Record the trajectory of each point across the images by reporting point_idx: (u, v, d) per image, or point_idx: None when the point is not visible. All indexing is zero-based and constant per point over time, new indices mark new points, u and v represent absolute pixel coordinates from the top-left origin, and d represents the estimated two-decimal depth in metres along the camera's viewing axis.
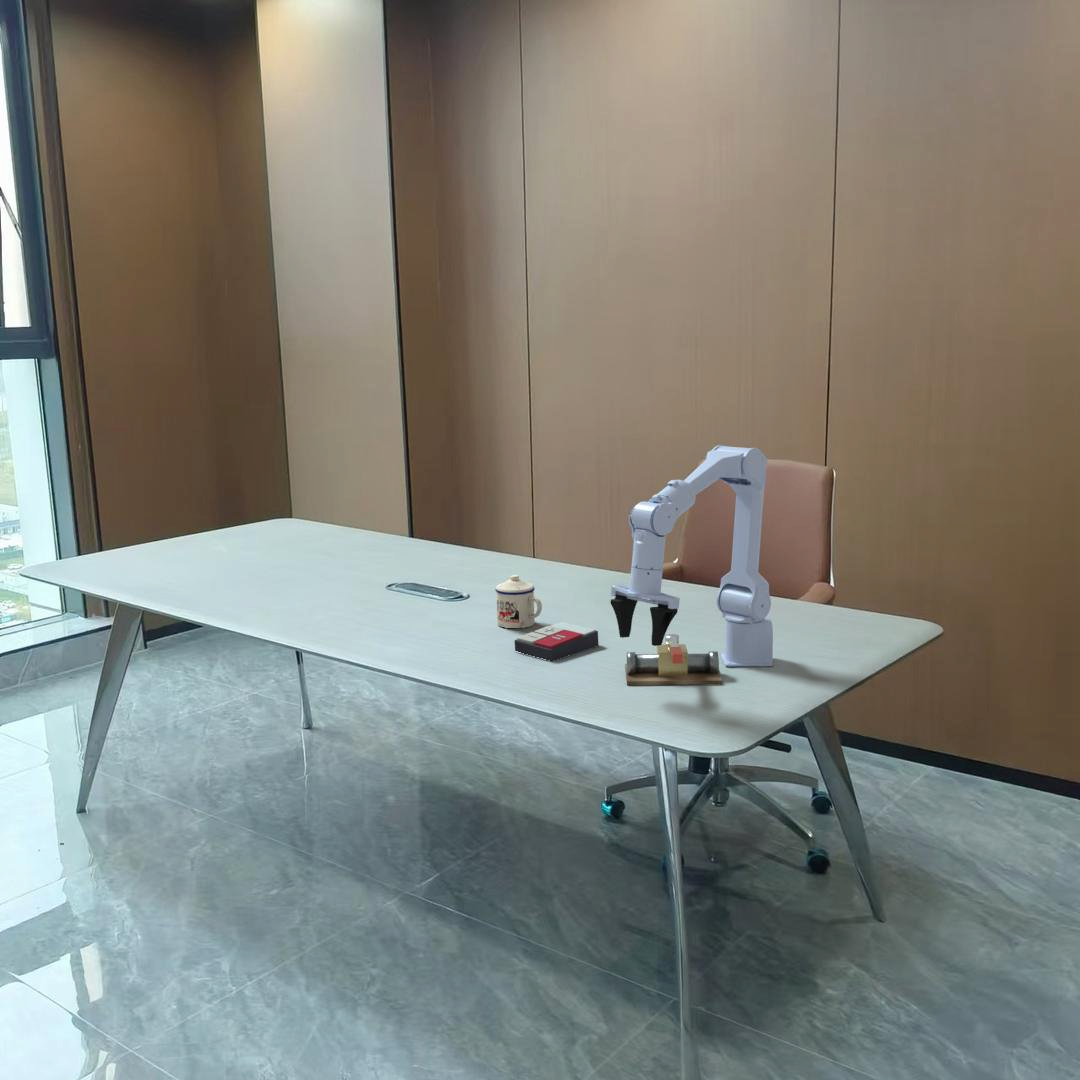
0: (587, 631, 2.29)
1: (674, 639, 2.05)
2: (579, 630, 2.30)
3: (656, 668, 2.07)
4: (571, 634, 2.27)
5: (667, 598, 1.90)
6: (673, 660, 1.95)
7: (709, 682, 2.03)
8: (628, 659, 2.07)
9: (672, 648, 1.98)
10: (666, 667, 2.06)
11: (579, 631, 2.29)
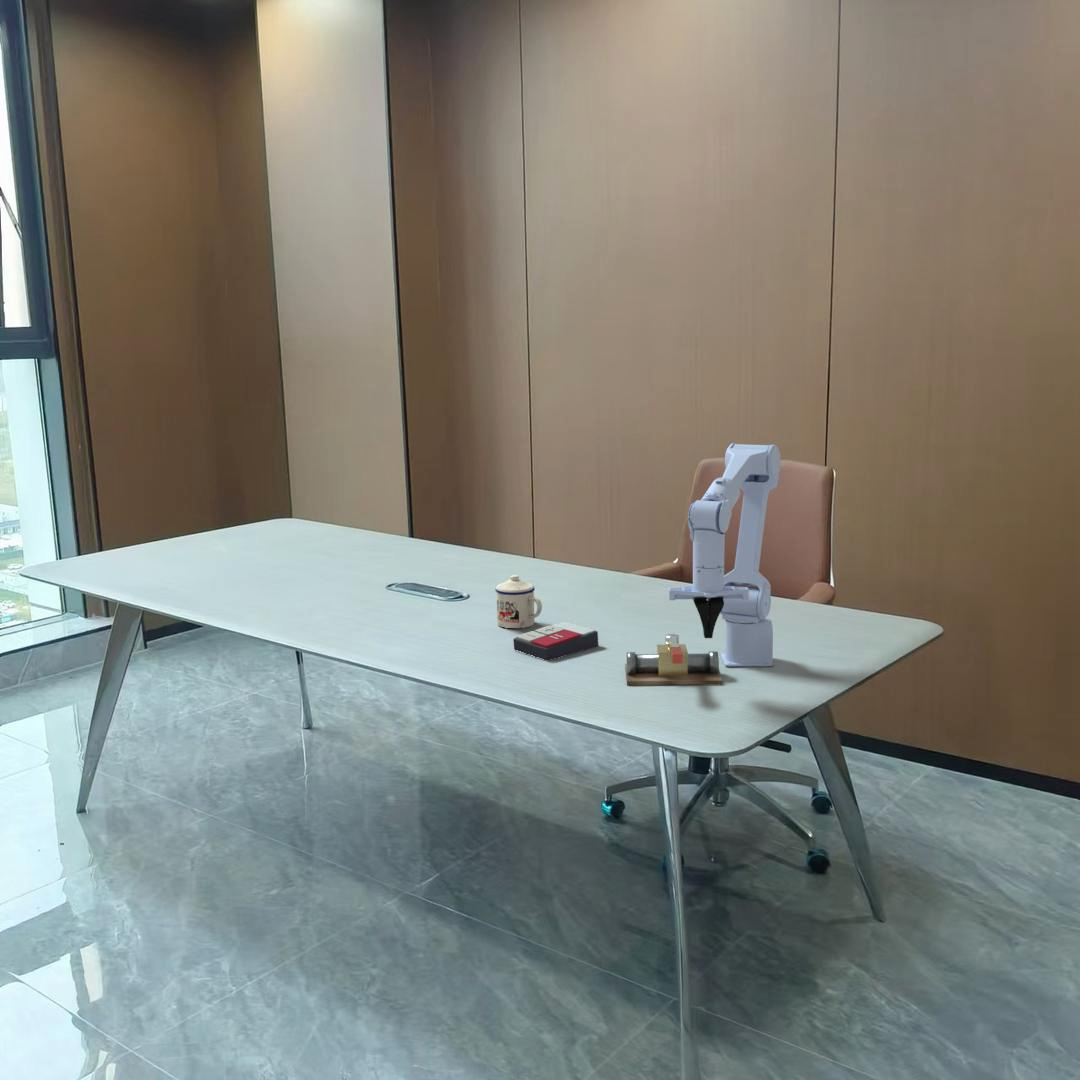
0: (586, 631, 2.29)
1: (674, 639, 2.05)
2: (579, 630, 2.30)
3: (656, 668, 2.07)
4: (570, 634, 2.27)
5: (742, 590, 1.96)
6: (673, 660, 1.95)
7: (709, 682, 2.03)
8: (628, 659, 2.07)
9: (672, 648, 1.98)
10: (666, 667, 2.06)
11: (578, 631, 2.29)
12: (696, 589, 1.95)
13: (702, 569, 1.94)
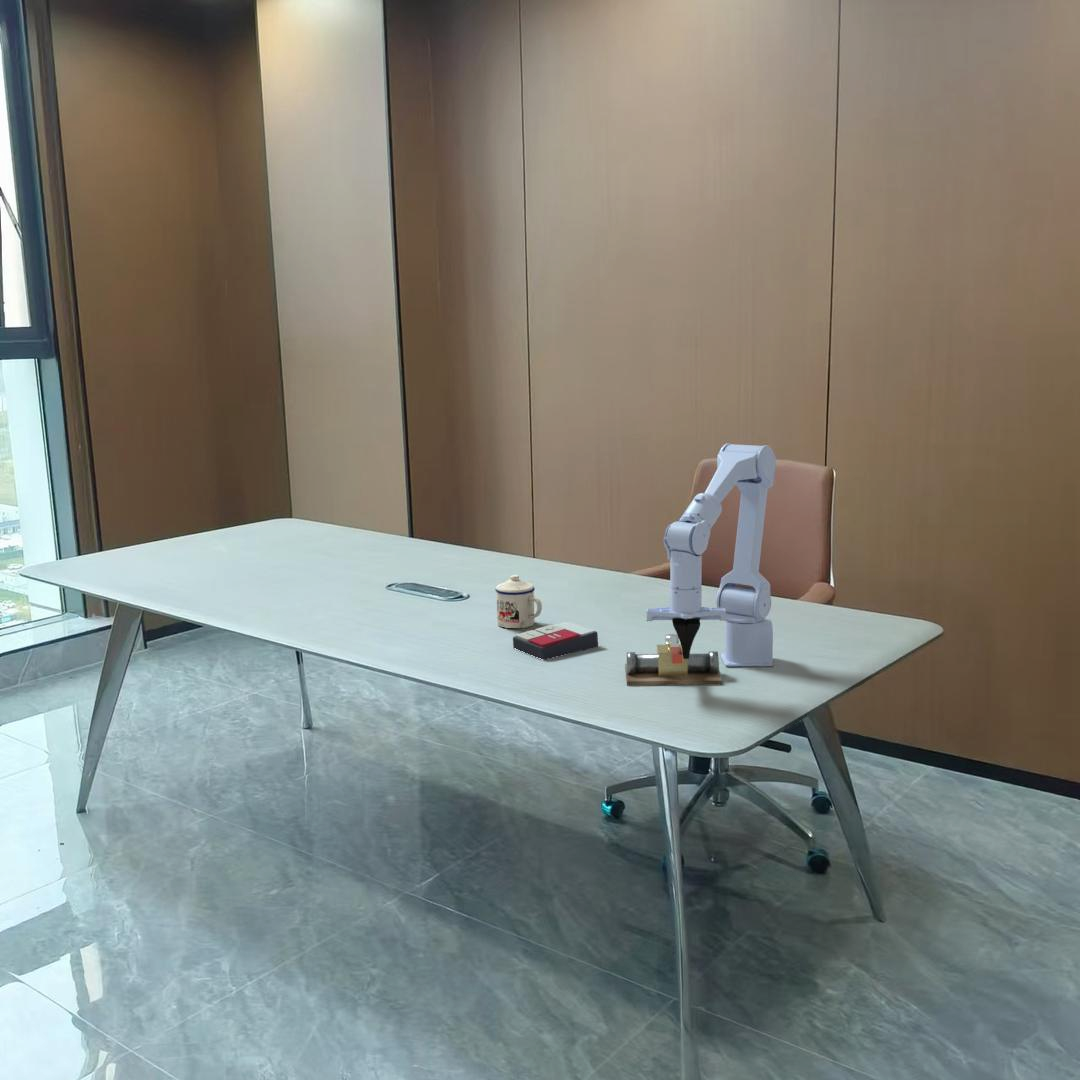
0: (586, 631, 2.29)
1: (674, 639, 2.05)
2: (579, 630, 2.30)
3: (656, 668, 2.07)
4: (568, 634, 2.27)
5: (719, 611, 1.96)
6: (673, 660, 1.95)
7: (709, 682, 2.03)
8: (628, 659, 2.07)
9: (672, 648, 1.98)
10: (666, 667, 2.06)
11: (578, 631, 2.29)
12: (673, 610, 1.96)
13: (679, 590, 1.95)
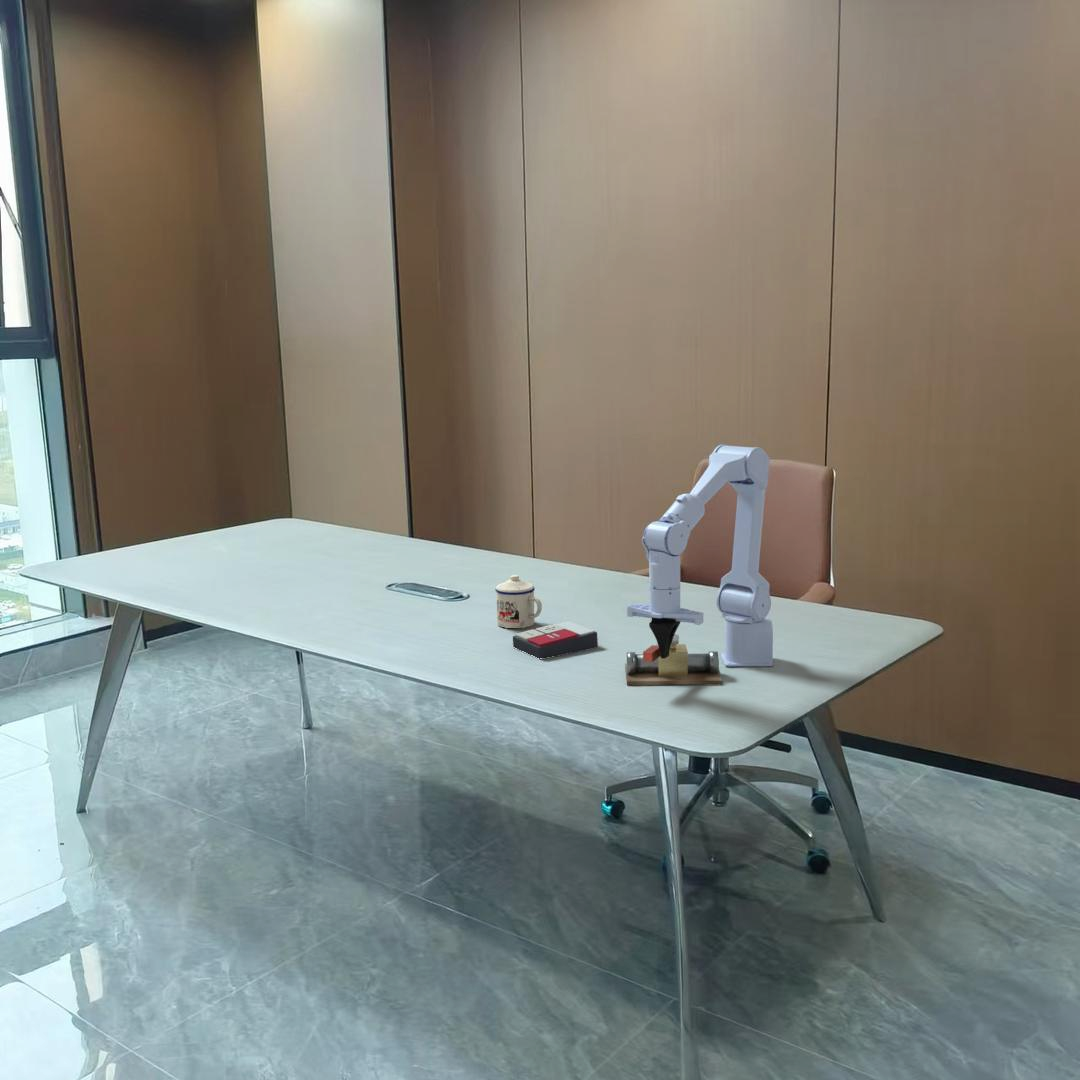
0: (585, 632, 2.28)
1: None
2: (578, 630, 2.30)
3: (656, 668, 2.07)
4: (567, 634, 2.27)
5: (693, 615, 1.94)
6: (643, 657, 1.97)
7: (709, 682, 2.03)
8: (628, 659, 2.07)
9: (651, 646, 2.00)
10: (666, 667, 2.06)
11: (578, 631, 2.29)
12: (649, 608, 1.98)
13: (652, 589, 1.96)
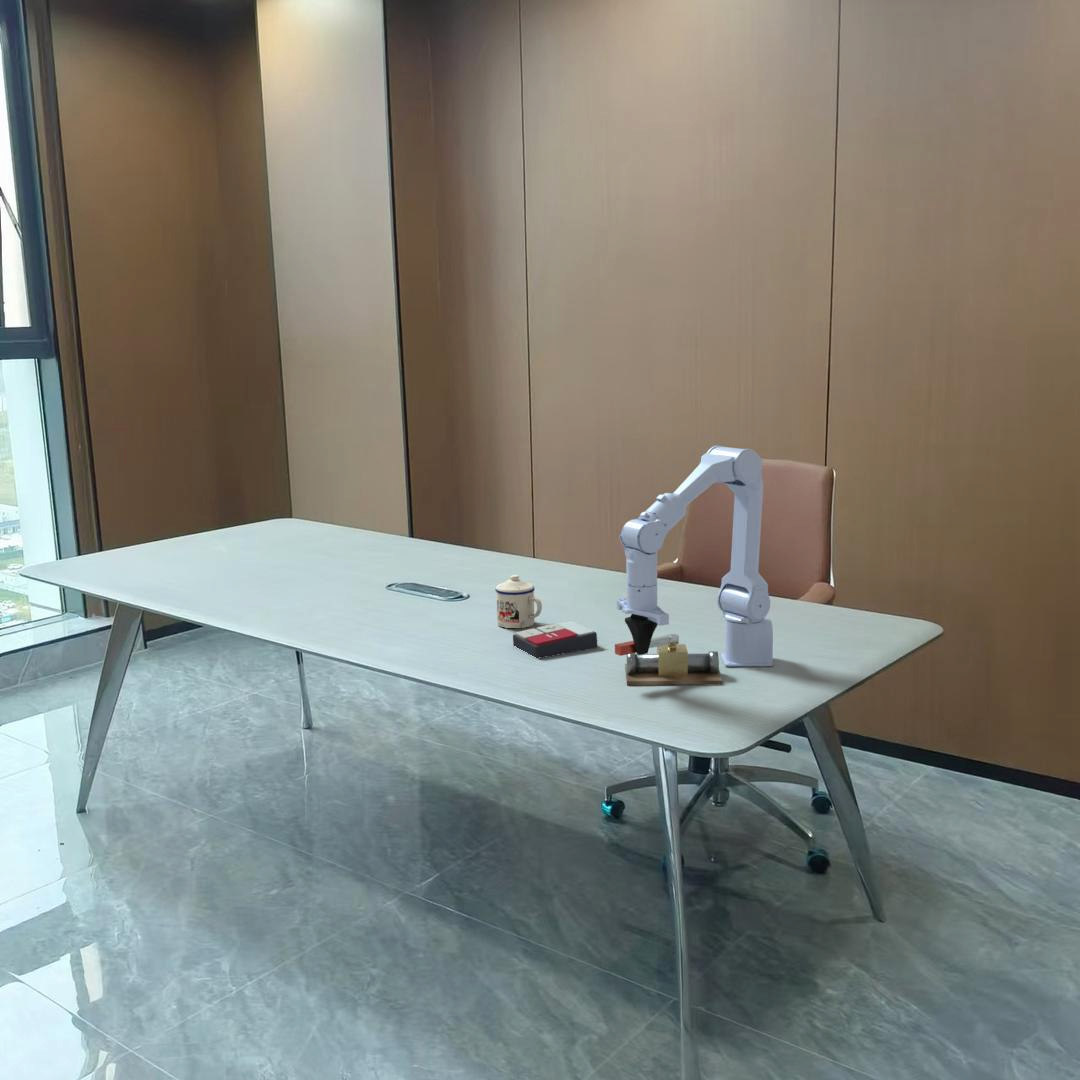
0: (584, 632, 2.28)
1: (661, 638, 2.06)
2: (578, 630, 2.30)
3: (656, 668, 2.07)
4: (566, 633, 2.27)
5: (655, 615, 1.95)
6: (615, 650, 2.02)
7: (709, 682, 2.03)
8: (628, 659, 2.07)
9: (630, 641, 2.04)
10: (666, 667, 2.06)
11: (577, 631, 2.29)
12: None
13: None
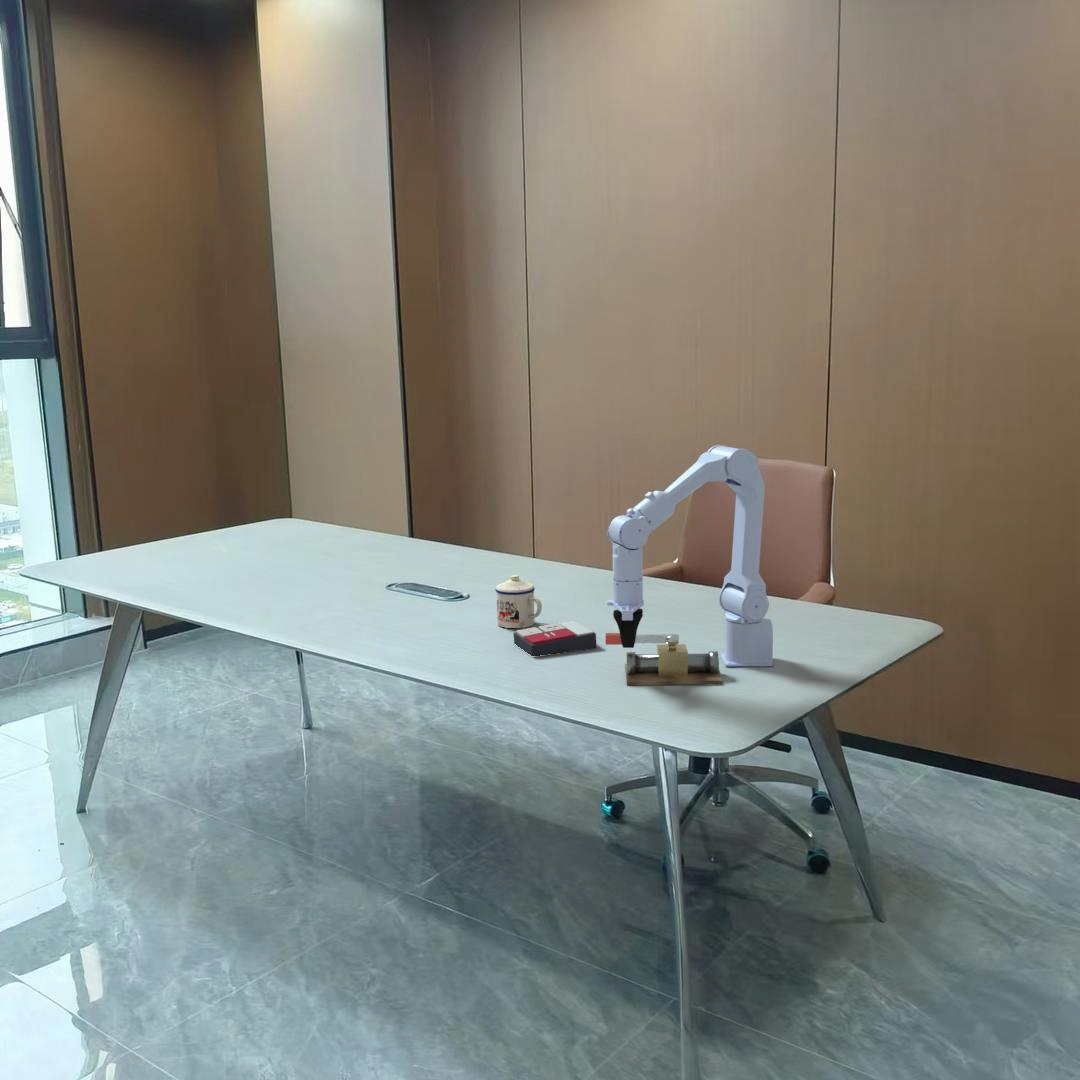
0: (583, 632, 2.28)
1: (657, 635, 2.08)
2: (578, 630, 2.30)
3: (656, 668, 2.07)
4: (565, 633, 2.28)
5: (621, 609, 1.99)
6: None
7: (709, 682, 2.03)
8: (628, 659, 2.07)
9: None
10: (666, 667, 2.06)
11: (577, 631, 2.29)
12: None
13: None
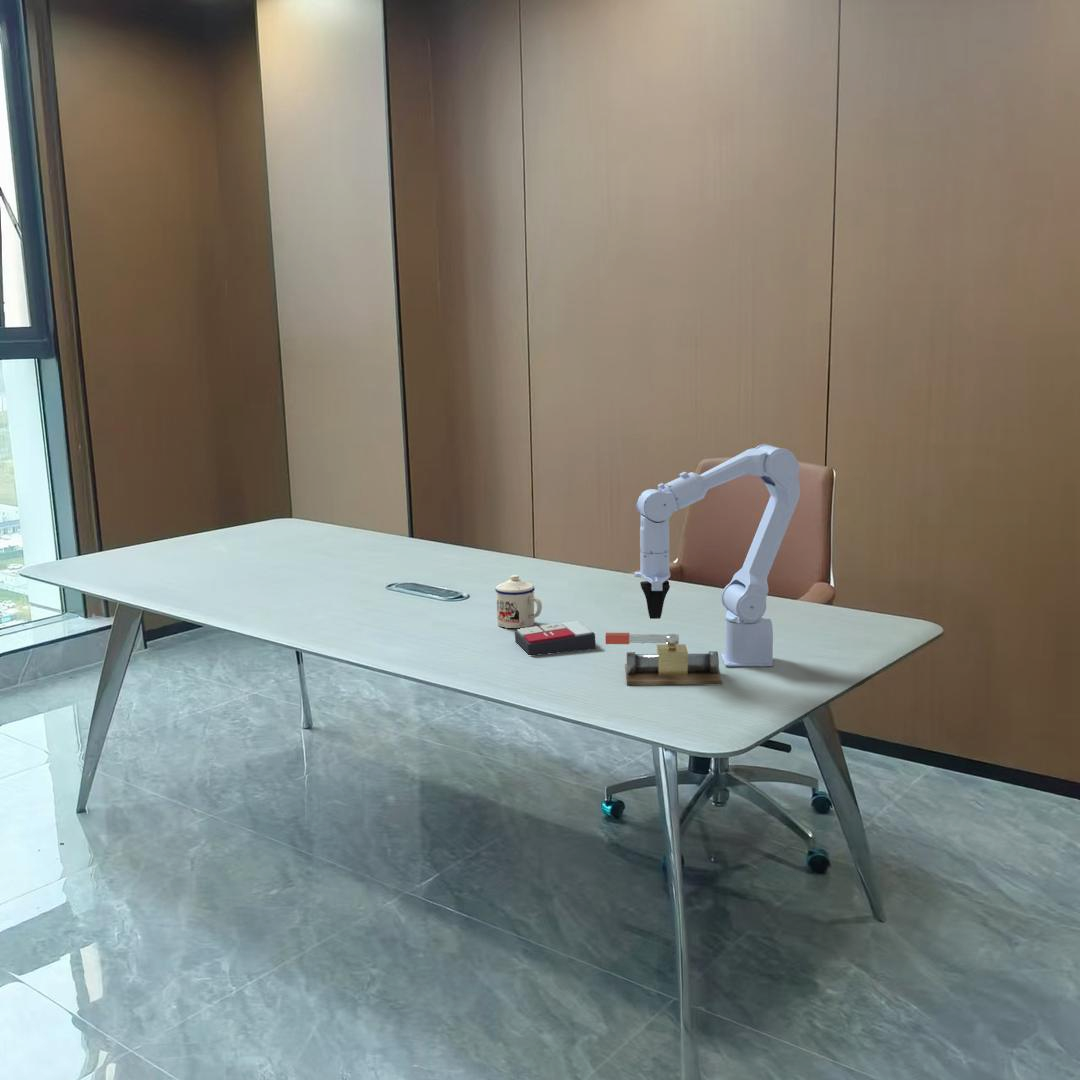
0: (582, 632, 2.28)
1: (657, 635, 2.08)
2: (577, 630, 2.30)
3: (656, 668, 2.07)
4: (564, 633, 2.28)
5: (651, 580, 2.05)
6: None
7: (709, 682, 2.03)
8: (628, 659, 2.07)
9: (623, 633, 2.09)
10: (666, 667, 2.06)
11: (576, 631, 2.29)
12: None
13: None
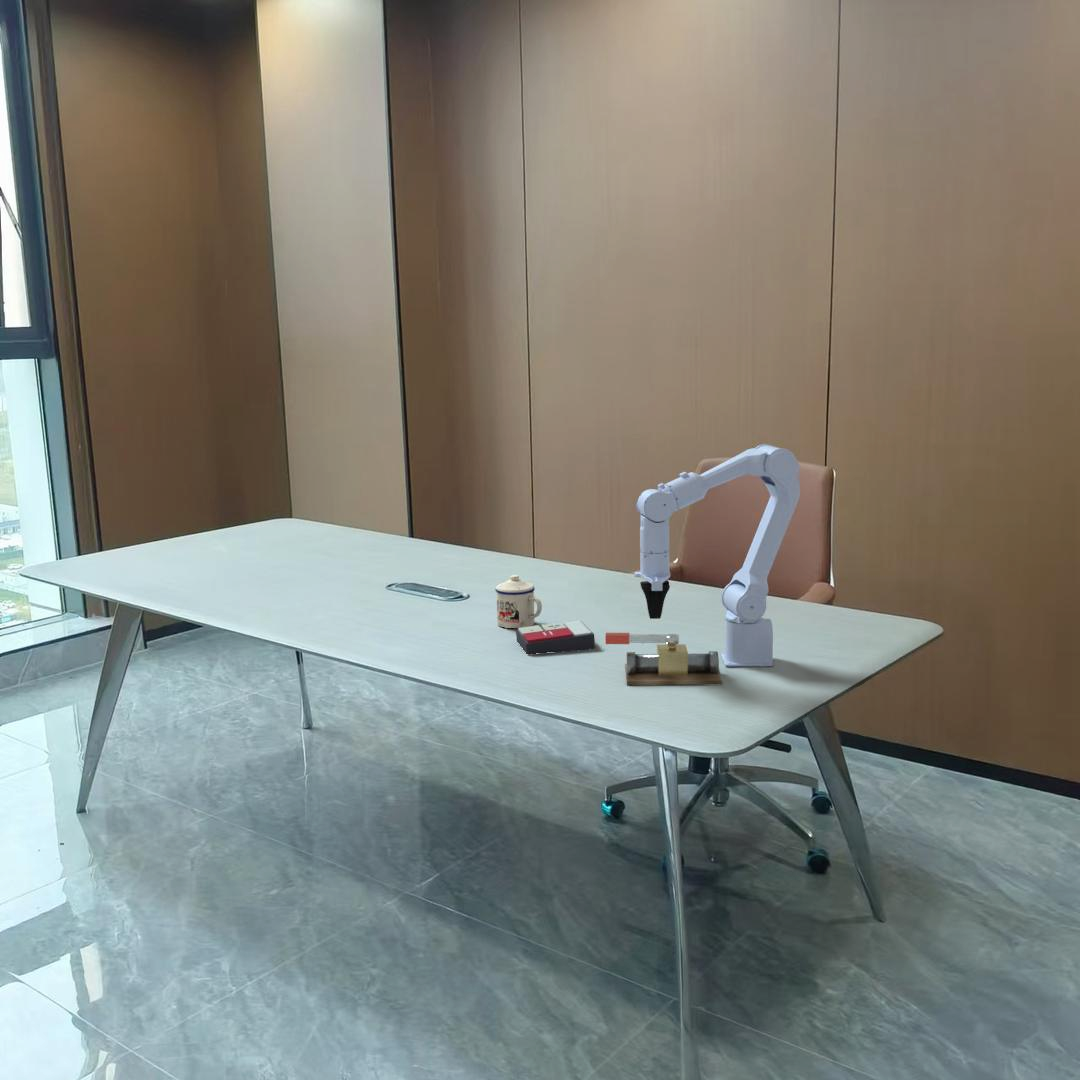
0: (582, 632, 2.28)
1: (657, 635, 2.08)
2: (577, 630, 2.30)
3: (656, 668, 2.07)
4: (563, 633, 2.28)
5: (651, 580, 2.05)
6: None
7: (709, 682, 2.03)
8: (628, 659, 2.07)
9: (623, 633, 2.09)
10: (666, 667, 2.06)
11: (576, 631, 2.29)
12: None
13: None
